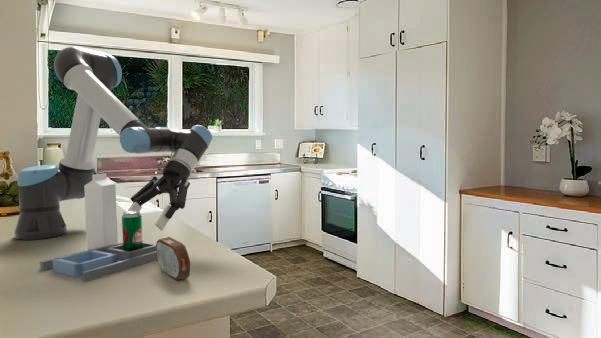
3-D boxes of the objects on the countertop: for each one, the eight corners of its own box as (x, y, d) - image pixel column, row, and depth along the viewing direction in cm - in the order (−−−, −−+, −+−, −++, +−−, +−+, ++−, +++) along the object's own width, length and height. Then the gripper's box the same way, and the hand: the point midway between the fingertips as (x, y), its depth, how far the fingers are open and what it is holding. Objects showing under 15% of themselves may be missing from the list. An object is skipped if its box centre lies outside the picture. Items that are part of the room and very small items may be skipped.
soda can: (136, 258, 117) (134, 214, 116) (119, 257, 118) (117, 213, 117) (146, 253, 122) (145, 211, 121) (130, 252, 123) (128, 210, 122)
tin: (192, 282, 97) (190, 244, 96) (178, 285, 95) (177, 247, 94) (167, 266, 109) (166, 233, 108) (154, 269, 107) (153, 235, 106)
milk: (87, 250, 126) (82, 174, 125) (101, 245, 132) (97, 173, 131) (105, 251, 125) (101, 174, 123) (118, 246, 131) (115, 173, 129)
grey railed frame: (40, 269, 108) (39, 257, 107) (130, 246, 130) (129, 236, 130) (85, 281, 98) (84, 268, 98) (173, 254, 120) (173, 243, 120)
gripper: (217, 176, 129) (181, 237, 117) (158, 174, 141) (121, 228, 130) (204, 159, 124) (165, 220, 112) (144, 158, 136) (104, 213, 125)
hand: (141, 225), depth 121 cm, fingers open, 13 cm apart
